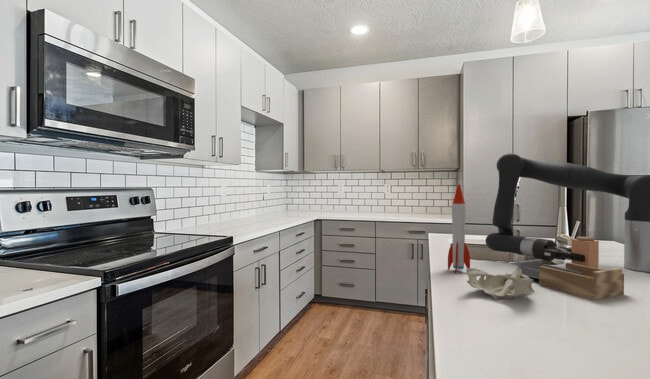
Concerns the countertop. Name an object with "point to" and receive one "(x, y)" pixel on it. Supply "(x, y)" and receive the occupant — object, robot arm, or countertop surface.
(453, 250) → the toy rocket
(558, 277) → the dock
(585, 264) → the tin
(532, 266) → the tray
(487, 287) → the anatomical model
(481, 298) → the countertop surface
